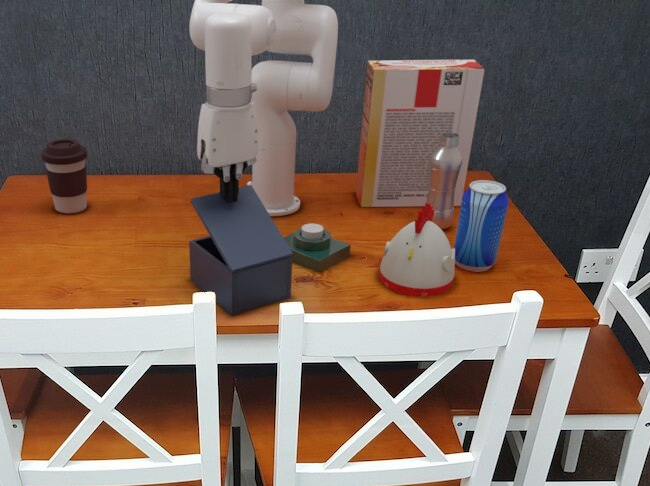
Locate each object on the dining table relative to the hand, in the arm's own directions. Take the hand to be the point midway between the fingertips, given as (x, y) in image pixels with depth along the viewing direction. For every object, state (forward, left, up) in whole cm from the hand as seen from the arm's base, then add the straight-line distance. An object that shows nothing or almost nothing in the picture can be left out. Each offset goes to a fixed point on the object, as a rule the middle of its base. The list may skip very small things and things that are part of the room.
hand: (229, 199), depth 141 cm
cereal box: (-13, +56, -17) cm, 60 cm away
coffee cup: (-49, -13, -17) cm, 54 cm away
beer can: (+19, +45, -17) cm, 51 cm away
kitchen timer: (+18, +31, -17) cm, 39 cm away
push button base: (-1, +20, -16) cm, 26 cm away
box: (+4, 0, -16) cm, 17 cm away
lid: (+4, 0, -4) cm, 6 cm away
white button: (-1, +20, -12) cm, 23 cm away
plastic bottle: (+2, +51, -17) cm, 54 cm away
